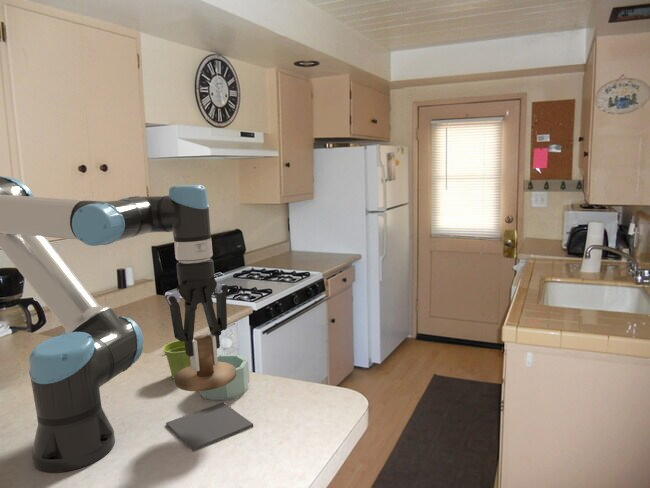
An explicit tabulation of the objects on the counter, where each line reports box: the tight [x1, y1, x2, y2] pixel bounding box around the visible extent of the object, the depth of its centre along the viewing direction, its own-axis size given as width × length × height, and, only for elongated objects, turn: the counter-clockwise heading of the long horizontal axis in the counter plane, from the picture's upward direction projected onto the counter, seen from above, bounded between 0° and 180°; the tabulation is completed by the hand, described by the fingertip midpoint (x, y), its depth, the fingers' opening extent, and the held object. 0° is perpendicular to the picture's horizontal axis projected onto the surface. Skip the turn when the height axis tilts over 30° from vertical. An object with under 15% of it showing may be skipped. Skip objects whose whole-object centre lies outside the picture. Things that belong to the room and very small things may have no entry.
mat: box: [165, 401, 254, 452], centre depth 112 cm, size 14×14×1 cm
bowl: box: [198, 354, 250, 402], centre depth 129 cm, size 12×12×7 cm
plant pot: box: [162, 340, 191, 379], centre depth 139 cm, size 9×9×9 cm
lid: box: [173, 334, 236, 392], centre depth 109 cm, size 13×13×9 cm
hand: (204, 366), depth 110 cm, fingers closed on lid, 4 cm apart
